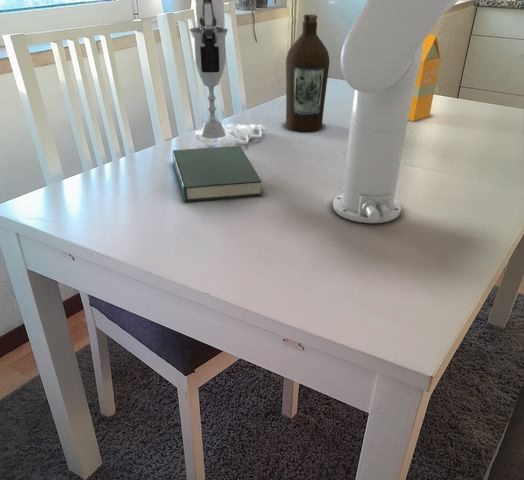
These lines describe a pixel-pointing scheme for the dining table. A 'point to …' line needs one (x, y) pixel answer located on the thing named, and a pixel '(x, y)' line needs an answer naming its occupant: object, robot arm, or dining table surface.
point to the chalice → (210, 79)
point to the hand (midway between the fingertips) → (210, 66)
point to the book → (215, 174)
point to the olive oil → (306, 79)
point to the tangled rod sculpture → (227, 141)
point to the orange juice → (425, 80)
